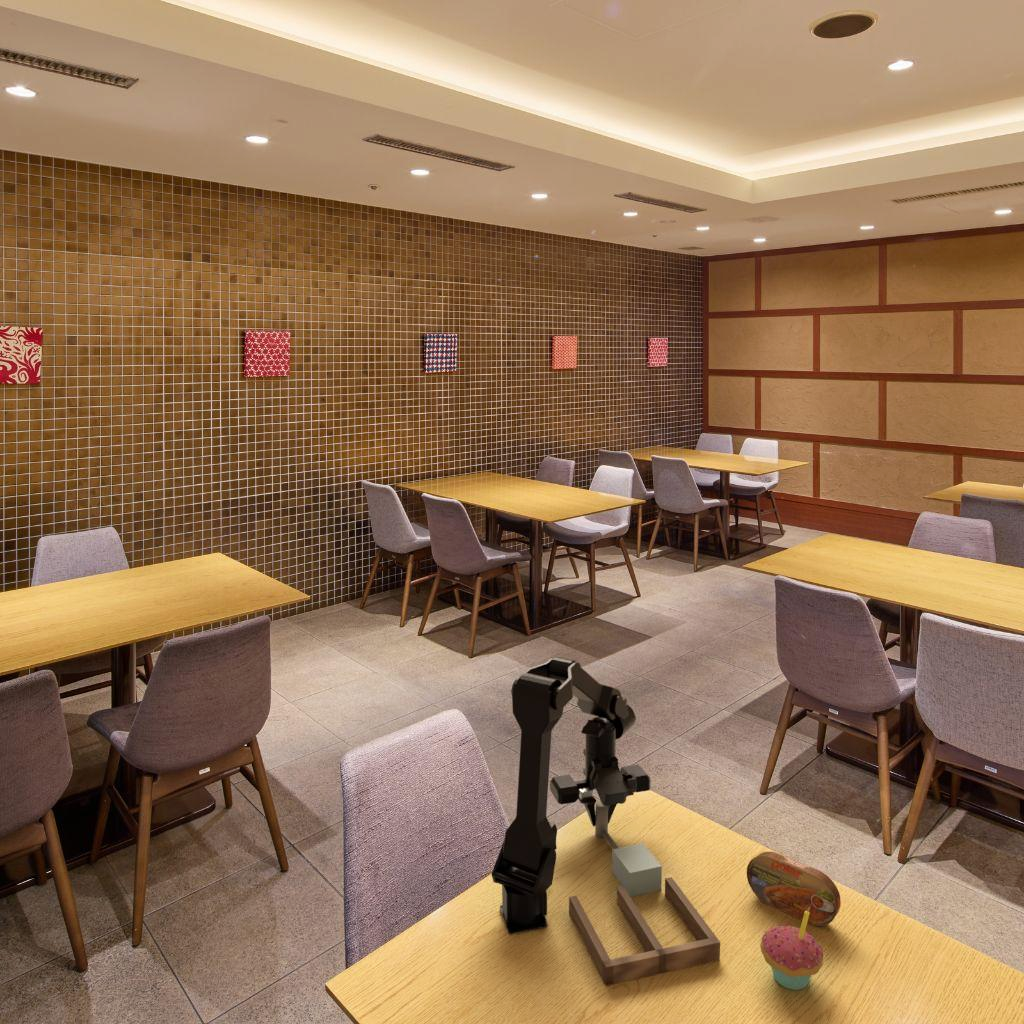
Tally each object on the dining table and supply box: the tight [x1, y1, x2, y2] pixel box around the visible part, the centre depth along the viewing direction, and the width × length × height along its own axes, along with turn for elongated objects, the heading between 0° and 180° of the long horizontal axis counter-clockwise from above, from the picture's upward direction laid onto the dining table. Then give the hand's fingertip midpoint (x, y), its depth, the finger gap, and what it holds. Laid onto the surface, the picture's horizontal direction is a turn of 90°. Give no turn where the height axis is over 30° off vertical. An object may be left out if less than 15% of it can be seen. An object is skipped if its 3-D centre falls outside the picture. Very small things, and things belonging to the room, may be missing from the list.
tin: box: [746, 851, 842, 927], centre depth 126 cm, size 15×3×8 cm, turn 47°
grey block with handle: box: [594, 801, 663, 898], centre depth 140 cm, size 6×20×6 cm, turn 17°
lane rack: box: [568, 876, 721, 986], centre depth 121 cm, size 18×16×3 cm
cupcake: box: [760, 907, 824, 991], centre depth 111 cm, size 9×8×12 cm
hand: (599, 824), depth 149 cm, fingers closed on grey block with handle, 2 cm apart
